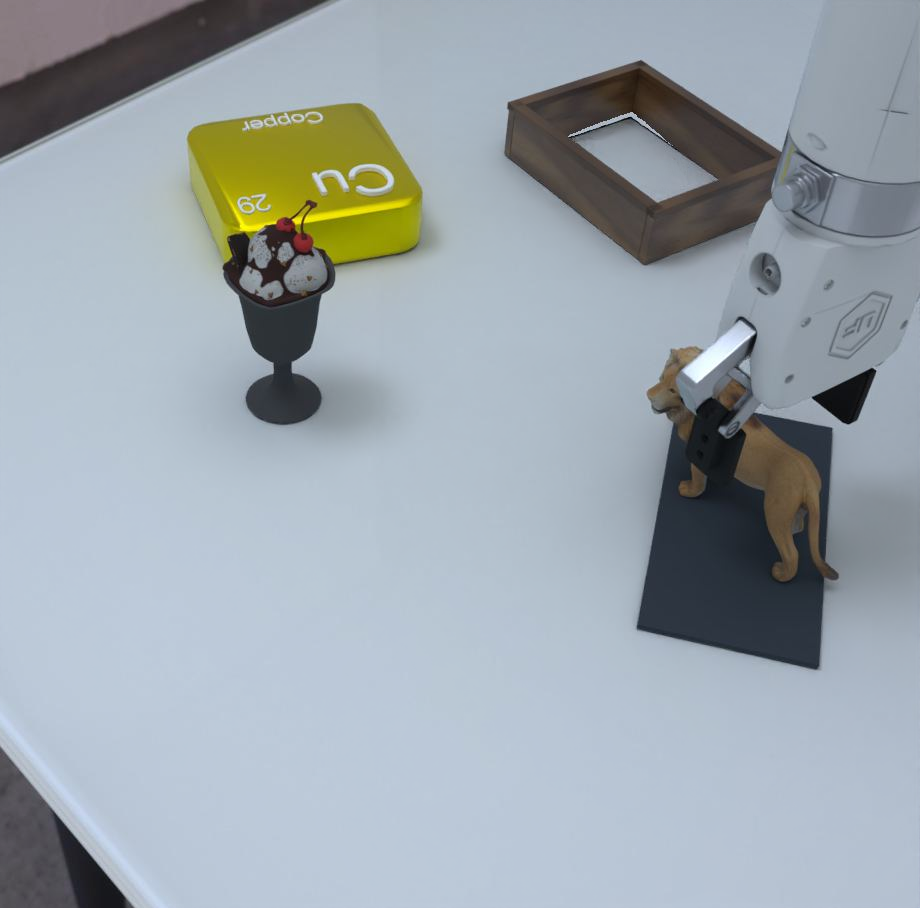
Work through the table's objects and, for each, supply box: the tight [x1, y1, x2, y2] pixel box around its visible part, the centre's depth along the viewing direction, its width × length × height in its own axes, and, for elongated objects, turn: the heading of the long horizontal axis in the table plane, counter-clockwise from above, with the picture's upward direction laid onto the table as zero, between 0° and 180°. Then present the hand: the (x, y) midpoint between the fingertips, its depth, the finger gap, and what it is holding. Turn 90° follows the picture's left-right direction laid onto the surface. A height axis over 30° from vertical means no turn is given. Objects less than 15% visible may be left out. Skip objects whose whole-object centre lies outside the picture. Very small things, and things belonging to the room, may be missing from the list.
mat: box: [636, 412, 834, 670], centre depth 79 cm, size 20×10×1 cm, turn 165°
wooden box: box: [503, 59, 782, 266], centre depth 103 cm, size 14×18×5 cm
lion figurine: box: [646, 345, 840, 582], centre depth 76 cm, size 15×5×9 cm, turn 41°
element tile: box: [186, 102, 423, 265], centre depth 99 cm, size 15×15×5 cm
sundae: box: [221, 200, 336, 425], centre depth 80 cm, size 7×7×15 cm
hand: (771, 439), depth 74 cm, fingers open, 9 cm apart
